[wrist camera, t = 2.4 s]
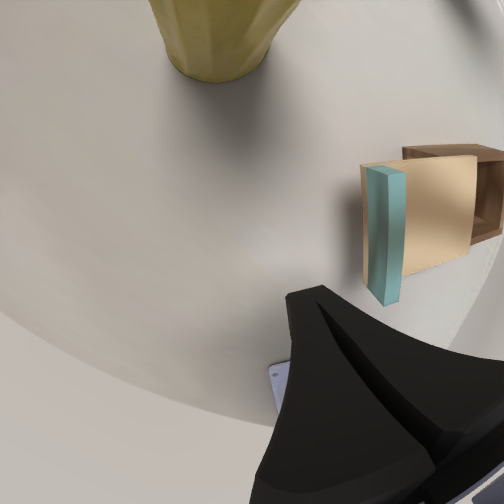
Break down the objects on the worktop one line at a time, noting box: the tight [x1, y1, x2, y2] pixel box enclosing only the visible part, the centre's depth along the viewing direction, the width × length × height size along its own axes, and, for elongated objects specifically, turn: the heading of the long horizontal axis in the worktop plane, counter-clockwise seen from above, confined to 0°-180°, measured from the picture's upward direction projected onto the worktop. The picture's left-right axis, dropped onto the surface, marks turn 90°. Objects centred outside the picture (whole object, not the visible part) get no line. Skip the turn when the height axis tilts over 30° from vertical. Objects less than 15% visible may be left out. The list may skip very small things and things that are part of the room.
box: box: [403, 144, 504, 245], centre depth 18 cm, size 7×9×4 cm
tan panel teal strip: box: [360, 155, 477, 307], centre depth 14 cm, size 7×9×3 cm
